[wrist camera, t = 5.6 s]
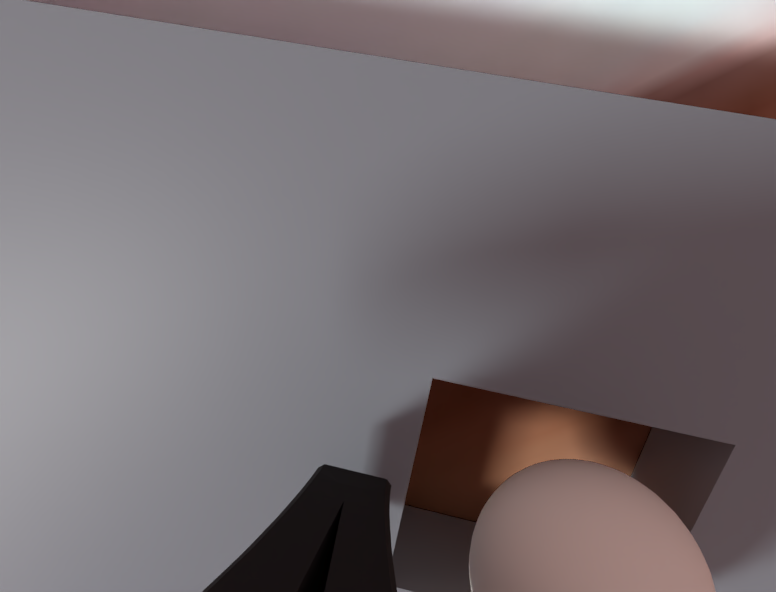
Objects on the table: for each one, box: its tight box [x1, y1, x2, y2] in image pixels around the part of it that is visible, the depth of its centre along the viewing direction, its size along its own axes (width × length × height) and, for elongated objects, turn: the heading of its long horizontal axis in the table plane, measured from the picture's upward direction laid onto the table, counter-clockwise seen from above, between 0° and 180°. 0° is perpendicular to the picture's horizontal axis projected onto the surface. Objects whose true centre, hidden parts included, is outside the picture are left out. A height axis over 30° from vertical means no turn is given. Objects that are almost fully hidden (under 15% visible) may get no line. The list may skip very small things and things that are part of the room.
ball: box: [469, 459, 716, 592], centre depth 8 cm, size 4×4×4 cm
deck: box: [0, 0, 776, 592], centre depth 11 cm, size 16×24×2 cm, turn 81°
